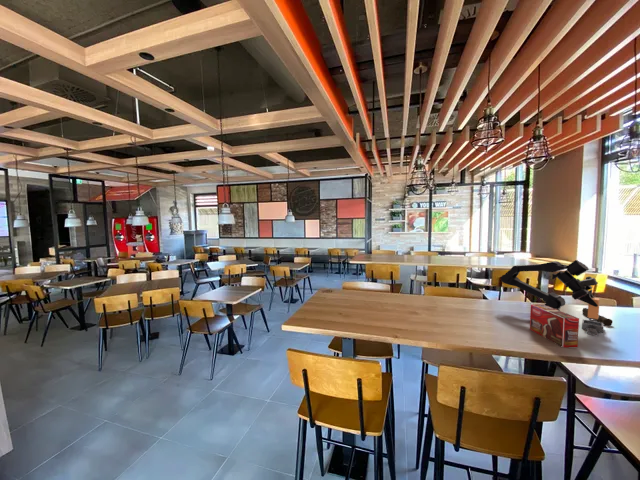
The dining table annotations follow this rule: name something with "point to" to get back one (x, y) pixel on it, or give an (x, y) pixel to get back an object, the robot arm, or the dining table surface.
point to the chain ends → (592, 326)
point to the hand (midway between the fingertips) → (597, 305)
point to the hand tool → (599, 318)
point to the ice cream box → (554, 325)
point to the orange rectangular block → (593, 309)
